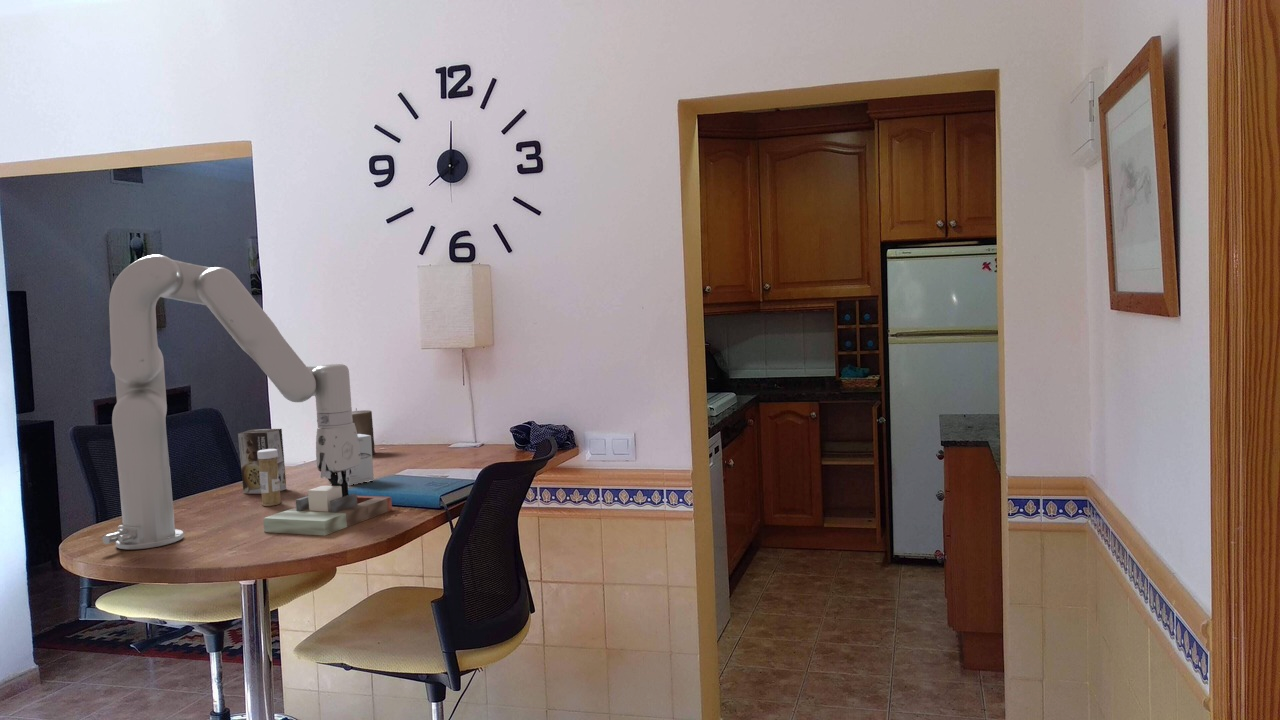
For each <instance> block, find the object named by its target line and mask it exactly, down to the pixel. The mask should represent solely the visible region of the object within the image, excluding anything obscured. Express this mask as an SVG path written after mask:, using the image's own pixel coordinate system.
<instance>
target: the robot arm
mask: <svg viewBox="0 0 1280 720" xmlns="http://www.w3.org/2000/svg"><path fill="white" fill-rule="evenodd" d="M160 298H164V299H169V300H175V301H180V302H181V301H182V302H186V303H191V304H197V305H202V306H206V307H207V308H208V309H209V311H210V312H211V313H212V315H214V317H215V318H216V319H217V320H218V322H219V323H220V324H221V325H222V326H223V328H224V329H225V330H226V332H227V333H228V334H229V335H230V336H231V337H232V339H233V340H234V341H235V343H236V344H237V345H238V346H239V347H240V348H241V350H242V351H244V353H246V354H247V355H248V356H249V357H250V358H251V359H252V361H254V362H255V363H256V364H257V365H258V367H259V368H260V369H261V371H262V372H263V373H265V375H266V376H267V378H268V379H269V380H270V381H271V382H272V384H273V385H274V386H275V388H276V389H277V390H278V392H279V393H280V394H281V395H282V397H284V398H285V399H286V400H288V401H289V402H292V403H303V402H307V401H308V400H310V399H311V398H312V397H314V398H315V407H316V410H315V411H316V422H317V429H316V436H315V437H316V438H315V440H316V441H315V460H316V467H317V470H318V471H319V472H320V478H321V479H323V480H324V479H325V480H326V479H327V480H328V483H329V485H330V486H341V487H342V497H344V496H347V495H349V486H348V482H349V476H350V474H351V472H353V471H354V470H355V469H356V467H357V466H358V465H359V464H360V463H361V456H360V447H359V440H358V435H357V431H356V427H355V424H354V423H353V420H352V411H353V409H352V408H353V407H352V396H351V382H350V381H351V379H350V369H349V368H348V366H347V365H345V364H343V363H341V364H340V363H334V364H333V363H331V364H322V365H318V366H307V365H306V364H305V363H304V362H303V360H302V359H301V358H300V357H299V355H298V354H297V353H296V351H294V349H293V348H292V347H291V346H290V344H289V343H288V342H287V341H286V339H285V338H284V336H283V335H282V333H281V332H280V330H279V329H278V327H277V326H276V325H275V323H274V322H273V320H272V319H271V318H270V317H269V316H268V314H267V313H266V312H265V310H264V309H263V308H262V307H261V305H260V304H259V303H258V302H257V301H256V300H255V298H254V297H253V296H252V294H251V292H250V291H248V289H247V288H246V287H245V286H244V284H243V283H242V282H241V281H240V279H239V278H238V277H237V276H236V274H234V272H232V271H231V270H230V269H228V268H226V267H222V266H221V267H219V266H214V267H211V266H210V267H209V266H205V265H204V266H203V265H199V264H193V263H190V262H189V263H188V262H184V261H181V260H180V261H179V260H175V259H172V258H170V257H169V256H166V255H162V254H150V255H146V256H143V257H141V258H139V259H137V260H135V261H133V262H132V263H130V264H129V265H128V266H126V267H125V268H124V269H122V271H121V272H120V273H119V274H118V276H117V277H116V278H115V280H114V282H113V284H112V287H111V290H110V293H109V301H108V306H109V307H108V308H109V310H108V313H109V337H110V367H111V371H112V373H113V375H114V379H115V380H114V381H115V382H114V383H115V395H116V403H115V405H114V407H113V410H112V414H111V415H112V416H111V425H112V432H113V438H114V446H115V447H114V448H115V455H116V464H117V475H118V485H119V496H120V508H121V518H122V519H121V520H122V524H120V525H118V526H117V527H118V529H117V530H116V531H115V532H112V533H111V532H110V533H108V534H104V535H102V542H103V544H104V545H110V544H113V543H115V547H116V548H118V549H120V550H143V549H152V548H156V547H162V546H166V545H170V544H174V543H177V542H179V541H181V540H182V539H183V538H184V536H185V535H184V531H183V530H181V529H177V528H176V526H175V515H174V514H175V512H174V502H173V500H174V499H173V491H172V490H173V489H172V479H171V478H172V477H171V467H170V457H169V447H168V435H167V424H166V423H167V422H166V421H167V419H166V416H167V414H168V413H167V412H168V404H167V391H166V378H165V363H164V362H165V361H164V355H163V353H162V351H161V349H160V347H159V344H158V343H159V342H158V332H157V313H156V310H157V309H156V306H157V303H158V301H159V299H160Z"/></svg>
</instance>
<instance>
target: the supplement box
mask: <svg viewBox="0 0 1280 720" xmlns="http://www.w3.org/2000/svg"><path fill="white" fill-rule="evenodd" d="M357 435H358V440H359V447H360V456H361V463H360V464H359V465H358V466H357V467H356V469H355V470H354V471H353V472H351V474H350V476H349V482H348V487H350V486H353V484H354V485H359V484H358V483H361V484H363V483H362V482H365V481H369V480H373V479H374V480H375V478H374V476H375V475H374V474H375V473H374V464H373V463H374V462H373V454H372V443H371V436H370V435H365V434H357Z"/></svg>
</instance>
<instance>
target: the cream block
mask: <svg viewBox="0 0 1280 720" xmlns="http://www.w3.org/2000/svg"><path fill="white" fill-rule="evenodd" d="M307 496H308V500H309V511H330V501H332V500H335V499H338V498H341V497H342V487H341V486H332V485H320V486H317V487H313V488H311V489H308V490H307Z"/></svg>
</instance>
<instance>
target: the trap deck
mask: <svg viewBox="0 0 1280 720" xmlns="http://www.w3.org/2000/svg"><path fill="white" fill-rule="evenodd" d="M392 503H393V502H392V496H379V495H378V496H374V495H372V496H371V495H358V494H357V493H351V494H348V495H347V496H344V497H341V498H338V499H335V500H332V501H330V511H309V500H308V495H306V496H303V497H300V498H297V499H295V507H293V508H290V509H287V510H284V511H281V512H277V513H275V514H272V515H268V516H266V517H263V518H262V521H263V522H262V523H263V532H264V533H277V534H289V535H290V534H292V535H293V534H294V535H310V536H311V535H312V536H313V535H314V536H328V535H329V534H333V533H335V532H338V531H340V530H343V529H346V528H349V527H350V526H351V527H352V526H353V525H357V524H359V523H361V522H363V521H367V520H369V519H372V518H374V517H377V516H380V515H382V514H385V513H388V512H391V511H392V510H393V505H392Z"/></svg>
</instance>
